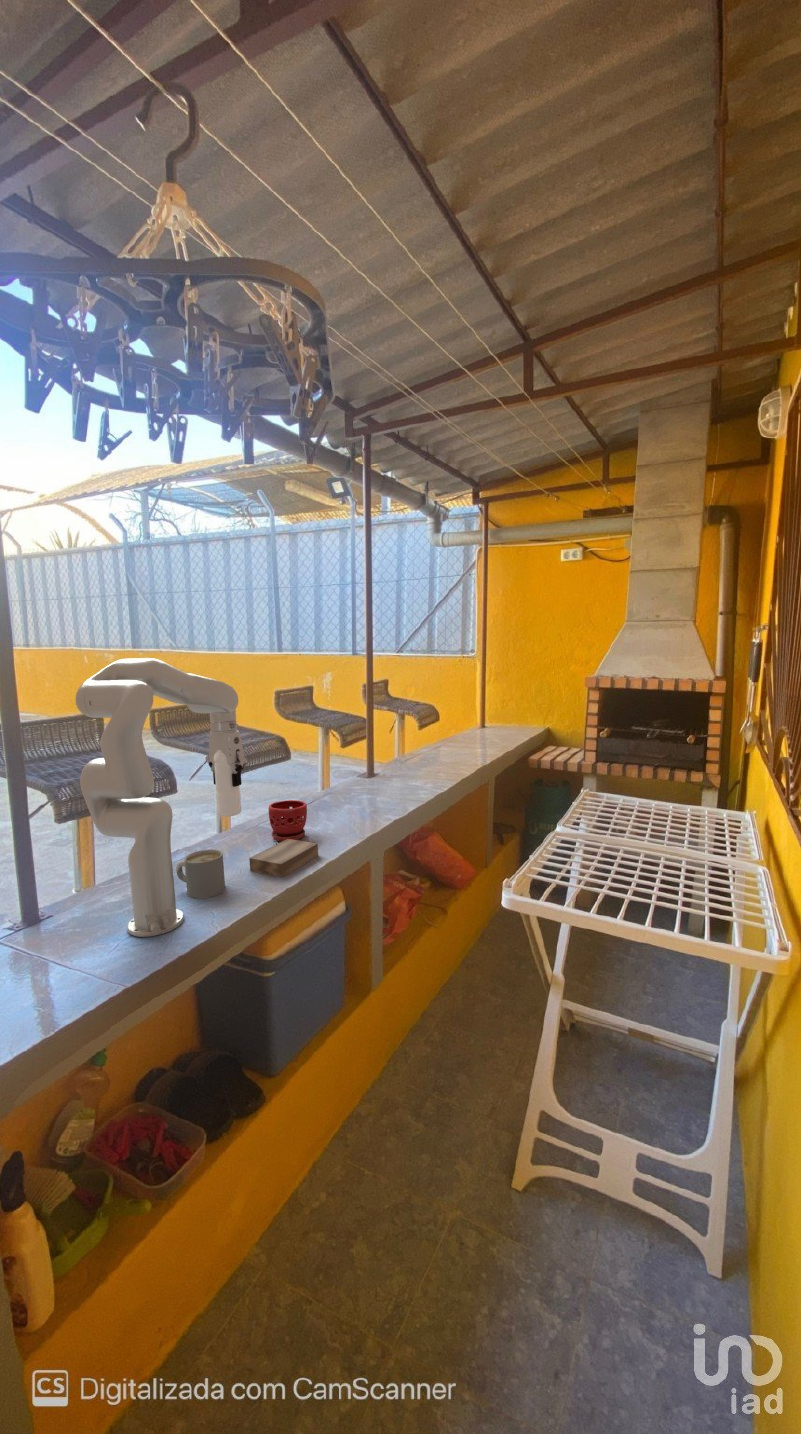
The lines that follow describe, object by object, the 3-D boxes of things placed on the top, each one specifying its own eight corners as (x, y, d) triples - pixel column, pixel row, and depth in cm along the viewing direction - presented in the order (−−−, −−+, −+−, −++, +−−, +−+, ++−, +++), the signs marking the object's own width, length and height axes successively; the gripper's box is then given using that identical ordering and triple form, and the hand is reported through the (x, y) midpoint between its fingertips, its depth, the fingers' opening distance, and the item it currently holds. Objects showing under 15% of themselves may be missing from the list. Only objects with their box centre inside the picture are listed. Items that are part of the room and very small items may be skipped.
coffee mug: (232, 885, 157) (230, 851, 156) (207, 901, 148) (204, 865, 147) (196, 879, 163) (193, 846, 162) (169, 893, 154) (166, 858, 153)
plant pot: (304, 843, 190) (302, 809, 188) (266, 844, 190) (263, 809, 189) (311, 830, 203) (309, 798, 201) (275, 831, 203) (273, 799, 202)
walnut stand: (318, 855, 178) (317, 843, 177) (281, 877, 162) (281, 864, 162) (288, 850, 183) (287, 838, 183) (250, 870, 168) (249, 858, 167)
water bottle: (227, 818, 167) (221, 735, 164) (212, 815, 171) (207, 734, 168) (246, 812, 173) (241, 732, 170) (232, 809, 177) (227, 731, 174)
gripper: (254, 726, 168) (258, 784, 170) (212, 724, 176) (215, 779, 178) (236, 729, 161) (240, 790, 164) (193, 727, 169) (197, 785, 172)
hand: (227, 784), depth 171 cm, fingers closed on water bottle, 7 cm apart
